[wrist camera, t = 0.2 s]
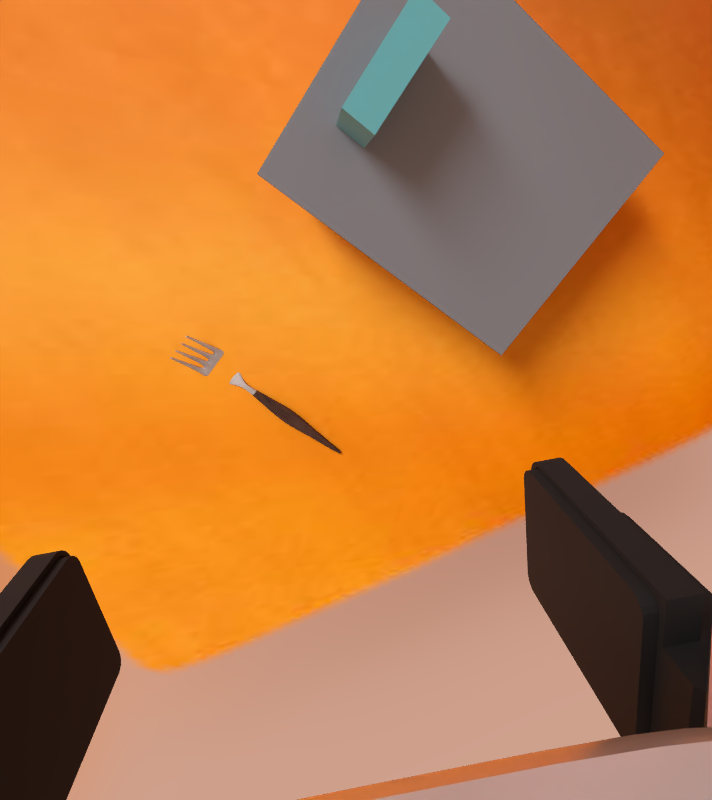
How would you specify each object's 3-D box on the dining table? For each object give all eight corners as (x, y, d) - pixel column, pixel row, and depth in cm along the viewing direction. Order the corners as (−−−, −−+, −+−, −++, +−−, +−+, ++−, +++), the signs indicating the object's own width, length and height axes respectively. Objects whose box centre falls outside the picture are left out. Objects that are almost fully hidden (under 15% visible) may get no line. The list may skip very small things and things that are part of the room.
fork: (330, 460, 44) (332, 471, 42) (174, 353, 39) (168, 360, 37) (349, 439, 43) (351, 449, 42) (193, 328, 39) (187, 333, 37)
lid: (411, -76, 27) (444, -168, 21) (643, 157, 32) (728, 142, 26) (260, 176, 31) (247, 165, 24) (491, 348, 36) (531, 377, 30)
